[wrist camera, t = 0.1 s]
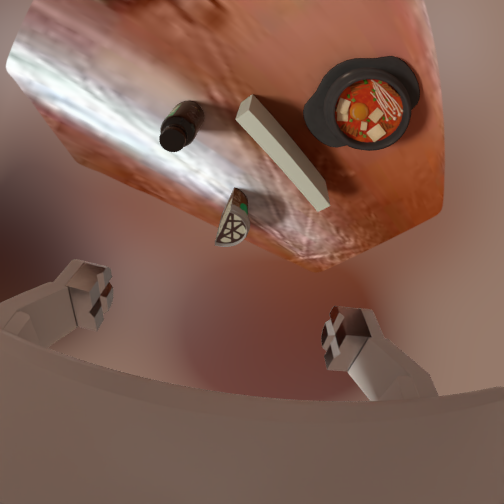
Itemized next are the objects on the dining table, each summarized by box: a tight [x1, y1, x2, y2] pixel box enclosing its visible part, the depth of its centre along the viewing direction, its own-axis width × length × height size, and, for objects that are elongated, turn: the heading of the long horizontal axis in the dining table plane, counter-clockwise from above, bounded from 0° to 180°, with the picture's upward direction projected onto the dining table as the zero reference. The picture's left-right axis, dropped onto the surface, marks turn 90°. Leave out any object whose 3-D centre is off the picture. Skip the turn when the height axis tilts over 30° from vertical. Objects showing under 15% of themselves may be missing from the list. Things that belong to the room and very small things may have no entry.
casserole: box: [303, 56, 420, 151], centre depth 48 cm, size 25×19×8 cm
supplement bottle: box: [159, 101, 204, 152], centre depth 53 cm, size 7×7×12 cm
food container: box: [215, 187, 250, 247], centre depth 71 cm, size 12×6×10 cm, turn 158°
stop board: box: [235, 94, 330, 212], centre depth 57 cm, size 3×26×9 cm, turn 40°
